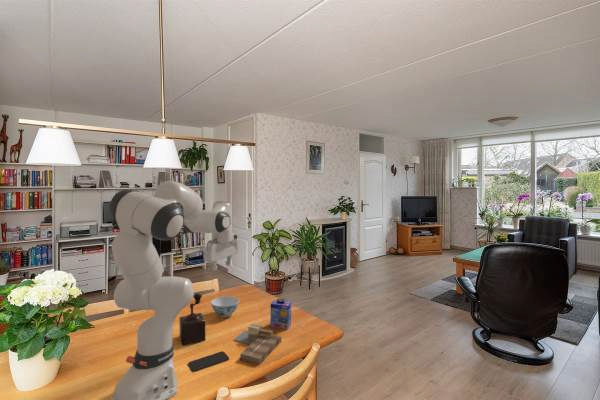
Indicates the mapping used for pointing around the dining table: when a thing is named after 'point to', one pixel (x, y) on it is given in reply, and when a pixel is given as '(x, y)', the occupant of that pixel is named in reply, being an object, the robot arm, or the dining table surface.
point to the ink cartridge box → (280, 314)
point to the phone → (208, 361)
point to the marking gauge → (257, 331)
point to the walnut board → (260, 349)
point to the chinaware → (225, 305)
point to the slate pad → (243, 338)
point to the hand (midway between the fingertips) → (221, 267)
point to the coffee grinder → (192, 325)
